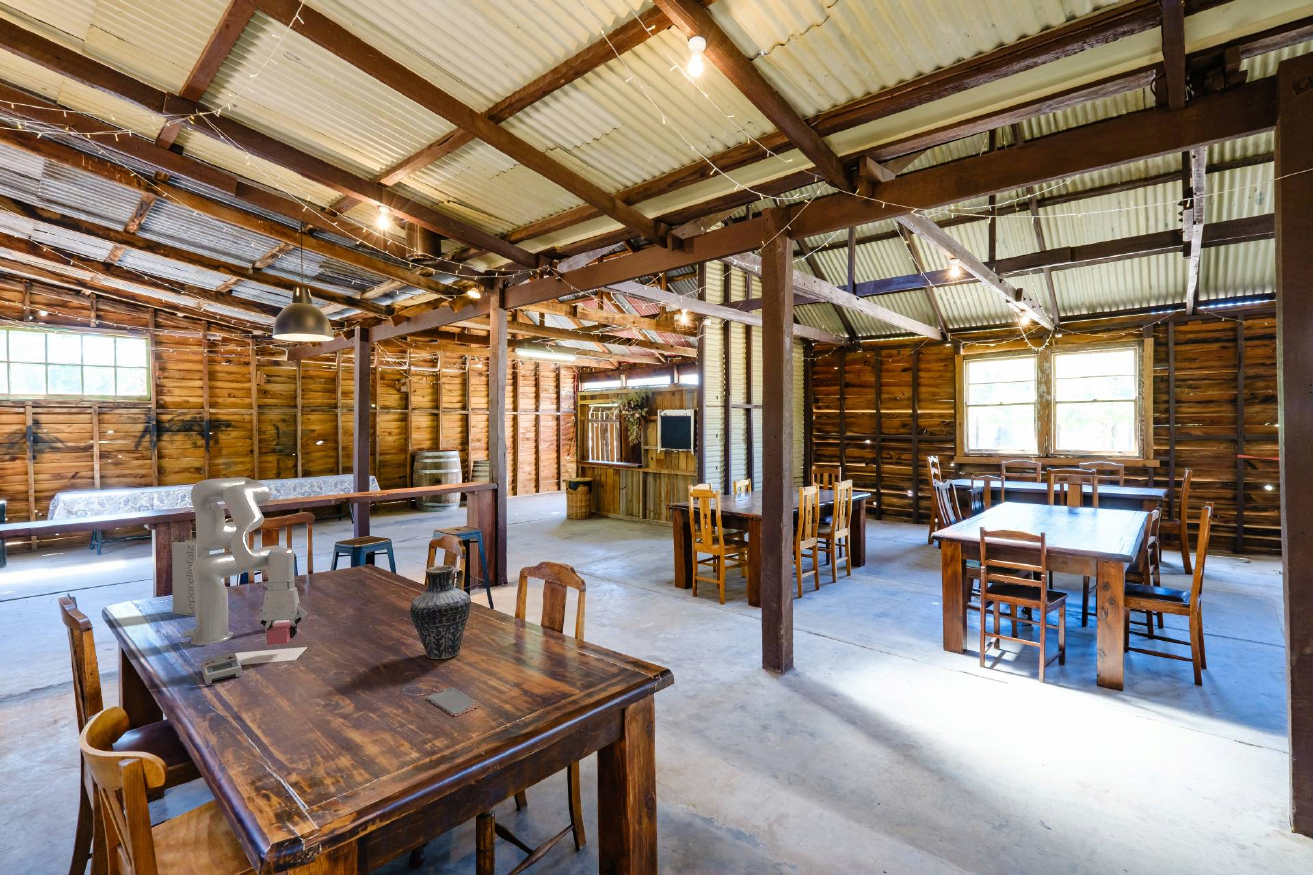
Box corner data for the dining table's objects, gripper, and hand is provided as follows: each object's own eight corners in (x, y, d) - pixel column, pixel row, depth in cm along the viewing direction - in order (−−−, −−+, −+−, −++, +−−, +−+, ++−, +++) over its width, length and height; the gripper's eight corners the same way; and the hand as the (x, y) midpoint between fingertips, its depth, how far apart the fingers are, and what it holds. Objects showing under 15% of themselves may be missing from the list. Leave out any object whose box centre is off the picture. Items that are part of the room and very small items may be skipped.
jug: (451, 668, 187) (450, 576, 187) (398, 664, 191) (397, 573, 191) (483, 645, 208) (482, 562, 207) (434, 641, 212) (433, 559, 211)
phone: (453, 691, 172) (453, 686, 172) (482, 708, 162) (482, 703, 162) (426, 700, 166) (426, 696, 166) (455, 719, 156) (455, 714, 156)
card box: (277, 635, 202) (277, 622, 202) (296, 634, 203) (296, 621, 203) (266, 644, 193) (266, 631, 193) (286, 643, 195) (286, 629, 195)
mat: (219, 667, 189) (219, 666, 189) (236, 654, 200) (236, 652, 200) (295, 661, 194) (295, 659, 194) (307, 648, 206) (307, 646, 206)
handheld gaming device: (235, 662, 191) (234, 651, 191) (242, 677, 181) (241, 665, 180) (201, 671, 185) (200, 659, 185) (206, 687, 174) (205, 674, 174)
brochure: (172, 613, 246) (171, 542, 246) (186, 609, 252) (185, 540, 251) (197, 616, 242) (196, 544, 242) (210, 612, 247) (209, 542, 247)
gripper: (247, 589, 192) (248, 643, 193) (305, 586, 197) (306, 639, 197) (257, 584, 200) (257, 636, 200) (313, 580, 204) (313, 631, 204)
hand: (282, 637), depth 198 cm, fingers closed on card box, 6 cm apart
